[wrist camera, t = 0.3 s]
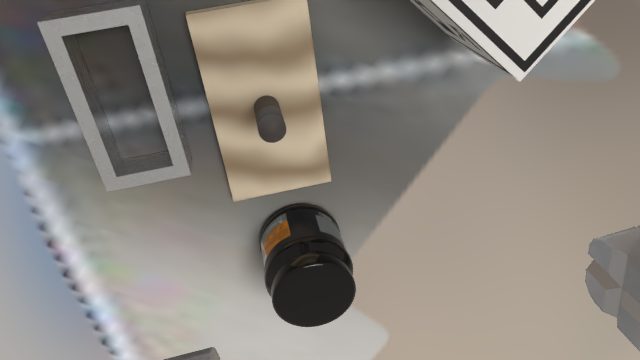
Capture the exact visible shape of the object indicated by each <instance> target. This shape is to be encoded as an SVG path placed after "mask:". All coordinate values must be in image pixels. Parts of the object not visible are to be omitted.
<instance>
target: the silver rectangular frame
mask: <svg viewBox="0 0 640 360" xmlns="http://www.w3.org/2000/svg"><path fill="white" fill-rule="evenodd" d="M37 23H38V26H39V28H40V31H41V33H42V35H43V38H44V40H45V43H46V45H47V47H48V50H49V52H50V55H51V57H52V60H53V62H54V64H55V67H56V69H57V72H58V74H59V77H60V79H61V81H62V84H63V86H64V89H65V91H66V94H67V96H68V98H69V101H70V103H71V106H72V108H73V111H74V113H75V115H76V118H77V120H78V123H79V125H80V128H81V130H82V132H83V135H84V137H85V140H86V142H87V144H88V147H89V149H90V152H91V154H92V157H93V159H94V161H95V164H96V166H97V169H98V171H99V174H100V176H101V178H102V181H103V183H104V186H105V188H106V191H107V192H109V191H114V190H119V189H124V188H129V187H134V186H139V185H144V184H149V183H154V182H159V181H163V180H168V179H173V178H178V177H183V176H188V175H191V168H192V156H191V152H190V149H189V146H188V142H187V139H186V136H185V132H184V129H183V125H182V122H181V119H180V115H179V112H178V108H177V105H176V102H175V98H174V95H173V91H172V88H171V85H170V81H169V78H168V75H167V71H166V68H165V64H164V61H163V58H162V54H161V51H160V47H159V44H158V41H157V37H156V34H155V30H154V27H153V24H152V20H151V17H150V14H149V10H148V7H147V3H146V0H123V1H117V2H111V3H105V4H99V5H93V6H87V7H81V8H75V9H69V10H63V11H57V12H51V13H48V14H47V15H46V16H45V17H43V18H42V19H41V20H40V21H38V22H37ZM124 25H129V29H130V32H131V35H132V38H133V41H134V44H135V47H136V50H137V54H138V57H139V60H140V63H141V66H142V69H143V72H144V75H145V79H146V82H147V85H148V88H149V91H150V94H151V97H152V100H153V104H154V107H155V110H156V113H157V116H158V119H159V122H160V125H161V129H162V132H163V135H164V138H165V141H166V144H167V147H168V150H169V151H164V152H159V153H154V154H149V155H144V156H139V157H134V158H128V159H123V160H122V158H121V155H120V153H119V150H118V148H117V145H116V142H115V140H114V137H113V134H112V132H111V129H110V126H109V124H108V121H107V118H106V116H105V113H104V111H103V108H102V105H101V103H100V100H99V97H98V95H97V92H96V89H95V87H94V84H93V81H92V79H91V76H90V74H89V71H88V68H87V66H86V63H85V60H84V58H83V55H82V52H81V50H80V47H79V45H78V42H77V39H76V37H75V34H77V33H83V32H89V31H95V30H101V29H106V28H112V27H118V26H124Z"/></svg>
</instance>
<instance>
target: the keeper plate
mask: <svg viewBox="0 0 640 360" xmlns="http://www.w3.org/2000/svg"><path fill="white" fill-rule="evenodd" d="M186 19H187V23H188V27H189V30H190V34H191V38H192V42H193V46H194V50H195V54H196V57H197V61H198V65H199V69H200V73H201V77H202V81H203V85H204V88H205V92H206V96H207V100H208V104H209V108H210V112H211V115H212V119H213V123H214V127H215V131H216V135H217V139H218V142H219V146H220V150H221V154H222V158H223V162H224V166H225V169H226V173H227V177H228V181H229V185H230V189H231V193H232V196H233V200H234V201H239V200H244V199H249V198H253V197H258V196H263V195H268V194H273V193H277V192H282V191H287V190H292V189H297V188H301V187H306V186H311V185H316V184H321V183H325V182H330V181H331V175H330V168H329V160H328V153H327V145H326V138H325V130H324V123H323V116H322V108H321V101H320V93H319V86H318V78H317V71H316V63H315V56H314V48H313V41H312V33H311V26H310V18H309V11H308V3H307V0H252V1H246V2H241V3H235V4H229V5H223V6H217V7H211V8H205V9H199V10H194V11H188V12H186Z"/></svg>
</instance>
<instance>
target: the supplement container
mask: <svg viewBox="0 0 640 360" xmlns="http://www.w3.org/2000/svg"><path fill="white" fill-rule="evenodd" d="M260 248H261V252H262V258H263V265H264V272H265V276H264V279H265V286H266V289H267V291H268V293H269V295H270V296H271V297H272V303H273V307H274V310H275V311H276V313H277V314H278V316H279V317H280V318H281V319H283V320H284V321H286V322H288V323H290V324H292V325H296V326H301V327H314V326H320V325H323V324H327V323H329V322H331V321H333V320H335V319H337V318H338V317H340V316H341V315H342V314H343V313H344V312H345V311H346V310H347V309H348V308H349V307H350V305H351V304H352V302H353V300H354V297H355V292H356V287H355V281H354V279H353V264H352V260H351V258H350V256H349V254H348V252H347V250H346V248H345V245H344V242H343V240H342V237H341V234H340V231H339V227H338V225H337V223H336V221H335V219H334V218H333V217H332V216H331V215H330V214H329V213H328V212H327V211H325V210H324V209H322V208H319V207H317V206H313V205H306V204H301V205H294V206H290V207H287V208H284V209H282V210H280V211H279V212H277V213H276V214H274V215H273V216H272V217H271V218H270V219H269V220H268V221H267V223H266V224H265V226H264V228H263V230H262V233H261V237H260Z"/></svg>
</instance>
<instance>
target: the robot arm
mask: <svg viewBox="0 0 640 360" xmlns="http://www.w3.org/2000/svg"><path fill="white" fill-rule="evenodd" d="M588 254H589V255H590V256H591V257H592V258H593V259H594V260H593V261H592V263H591V264H590V265H589V266H588V268H587V269H586V280H585V282H586V285H587V288H588V291H589V294H590V296H591V297H592V299H593V300H594V302H595V304H596V305H597V306H598V307H599V308H600V309H601V310H602V311H603V312H605V313H607V314H610V315H612V316H615V317H617V327H618V329H619V330H620V331H621V332H622V333H623V334H624V335H625V336H626V337H627V338H628V339H629V341H631V343H632V344H633V345H634V346H635V347H636V348H637V349H638V350H639V351H640V226H638V227H632V228H629V229H626V230H622V231H619V232H615V233H612V234H609V235H606V236H602V237H599V238H595V239H593V240H592V242H591V243H590V245H589V251H588ZM164 360H220V357H219V355H218V353H217V351H216V349H215V348H214V347H211V348H207V349H203V350H199V351H195V352H191V353H187V354H184V355H180V356H176V357H172V358H168V359H164Z"/></svg>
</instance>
